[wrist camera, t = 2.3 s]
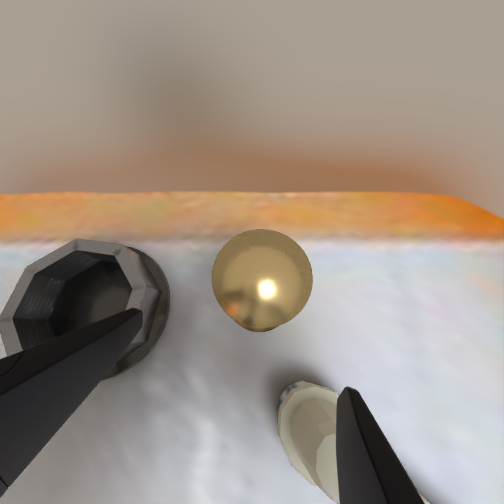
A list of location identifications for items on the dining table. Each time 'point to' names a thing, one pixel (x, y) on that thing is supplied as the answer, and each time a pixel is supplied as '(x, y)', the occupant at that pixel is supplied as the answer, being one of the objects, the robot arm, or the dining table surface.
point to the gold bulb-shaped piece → (262, 279)
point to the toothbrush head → (311, 434)
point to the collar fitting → (86, 297)
